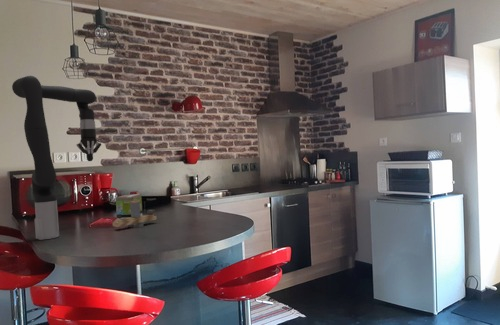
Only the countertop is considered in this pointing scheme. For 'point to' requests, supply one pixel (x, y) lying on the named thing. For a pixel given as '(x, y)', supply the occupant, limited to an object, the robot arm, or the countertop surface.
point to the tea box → (126, 205)
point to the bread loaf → (136, 220)
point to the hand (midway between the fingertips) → (90, 161)
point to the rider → (135, 209)
